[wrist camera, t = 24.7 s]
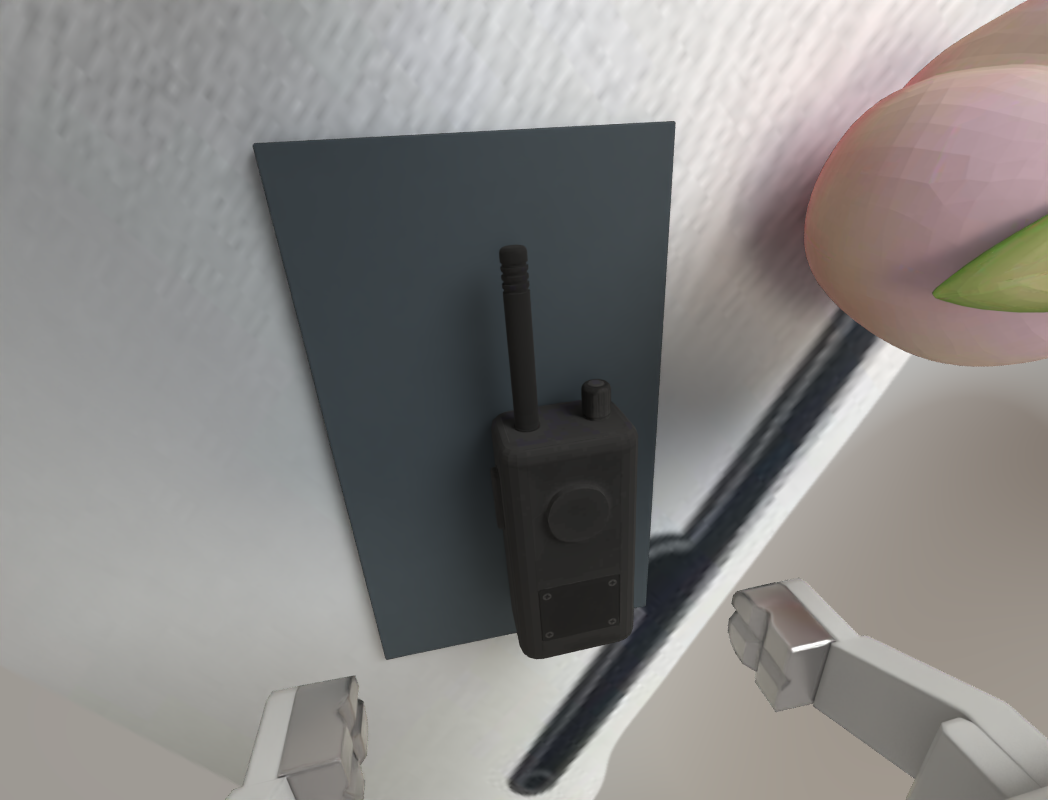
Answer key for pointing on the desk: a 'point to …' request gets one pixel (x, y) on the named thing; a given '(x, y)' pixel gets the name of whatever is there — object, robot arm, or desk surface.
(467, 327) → the mat
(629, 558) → the walkie-talkie
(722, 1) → the desk surface
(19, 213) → the desk surface
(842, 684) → the robot arm
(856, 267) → the decorative fruit
